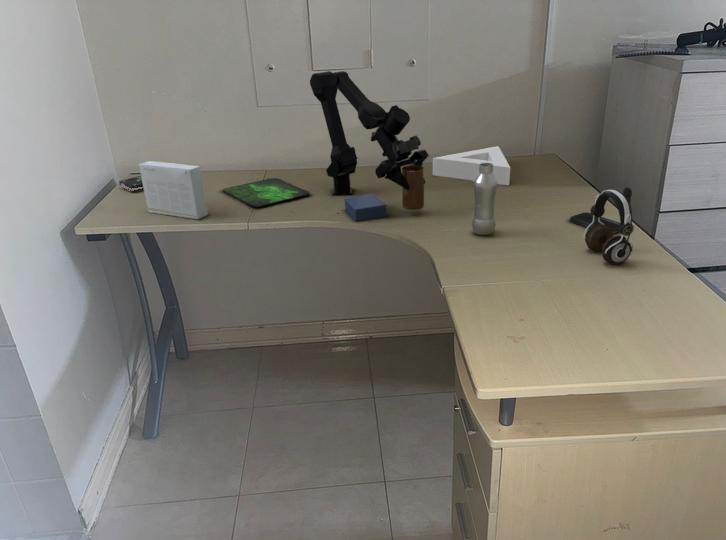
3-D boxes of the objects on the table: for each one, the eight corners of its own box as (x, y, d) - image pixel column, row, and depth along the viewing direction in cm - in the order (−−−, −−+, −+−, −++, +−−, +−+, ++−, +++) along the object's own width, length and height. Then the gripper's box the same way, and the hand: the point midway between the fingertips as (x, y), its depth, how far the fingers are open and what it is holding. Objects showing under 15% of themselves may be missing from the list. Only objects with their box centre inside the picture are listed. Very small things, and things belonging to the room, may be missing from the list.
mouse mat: (220, 190, 228) (219, 187, 227) (274, 178, 239) (274, 175, 239) (255, 209, 209) (254, 206, 208) (312, 195, 220) (312, 192, 219)
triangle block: (509, 185, 224) (510, 167, 220) (434, 187, 224) (434, 169, 221) (497, 162, 250) (498, 145, 246) (430, 164, 250) (430, 147, 247)
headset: (637, 268, 161) (652, 191, 151) (609, 272, 160) (622, 194, 150) (603, 244, 176) (614, 171, 166) (577, 247, 174) (586, 174, 164)
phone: (586, 211, 195) (627, 225, 184) (585, 215, 195) (626, 228, 185) (568, 217, 191) (609, 231, 180) (567, 221, 192) (609, 235, 181)
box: (344, 210, 206) (343, 198, 204) (374, 206, 209) (374, 194, 207) (355, 221, 197) (355, 209, 195) (387, 216, 200) (386, 204, 198)
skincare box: (209, 214, 206) (201, 165, 198) (198, 220, 202) (189, 170, 194) (159, 207, 214) (148, 159, 206) (147, 212, 210) (136, 164, 202)
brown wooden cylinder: (402, 203, 203) (401, 165, 197) (422, 202, 203) (422, 164, 197) (403, 210, 197) (402, 171, 191) (424, 209, 197) (424, 170, 191)
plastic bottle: (494, 238, 182) (498, 168, 172) (470, 237, 183) (473, 167, 173) (495, 230, 187) (499, 161, 177) (472, 229, 188) (475, 161, 178)
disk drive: (133, 194, 228) (170, 184, 237) (131, 186, 227) (169, 176, 236) (120, 188, 235) (157, 178, 244) (118, 180, 233) (155, 171, 242)
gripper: (380, 133, 185) (408, 178, 184) (424, 122, 196) (450, 164, 195) (363, 156, 194) (389, 199, 193) (406, 144, 205) (431, 185, 204)
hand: (416, 186), depth 196 cm, fingers closed on brown wooden cylinder, 6 cm apart
